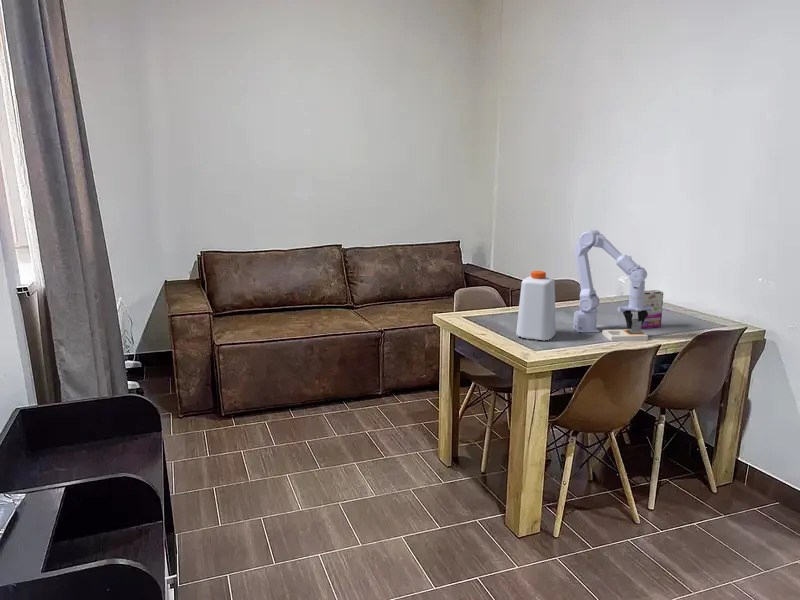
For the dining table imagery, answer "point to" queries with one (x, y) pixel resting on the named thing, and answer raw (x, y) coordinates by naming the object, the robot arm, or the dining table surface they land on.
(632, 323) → the steel block
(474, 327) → the dining table surface
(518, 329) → the plastic bottle
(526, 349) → the dining table surface
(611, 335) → the shallow wooden tray
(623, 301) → the dining table surface
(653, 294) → the candy bar box
